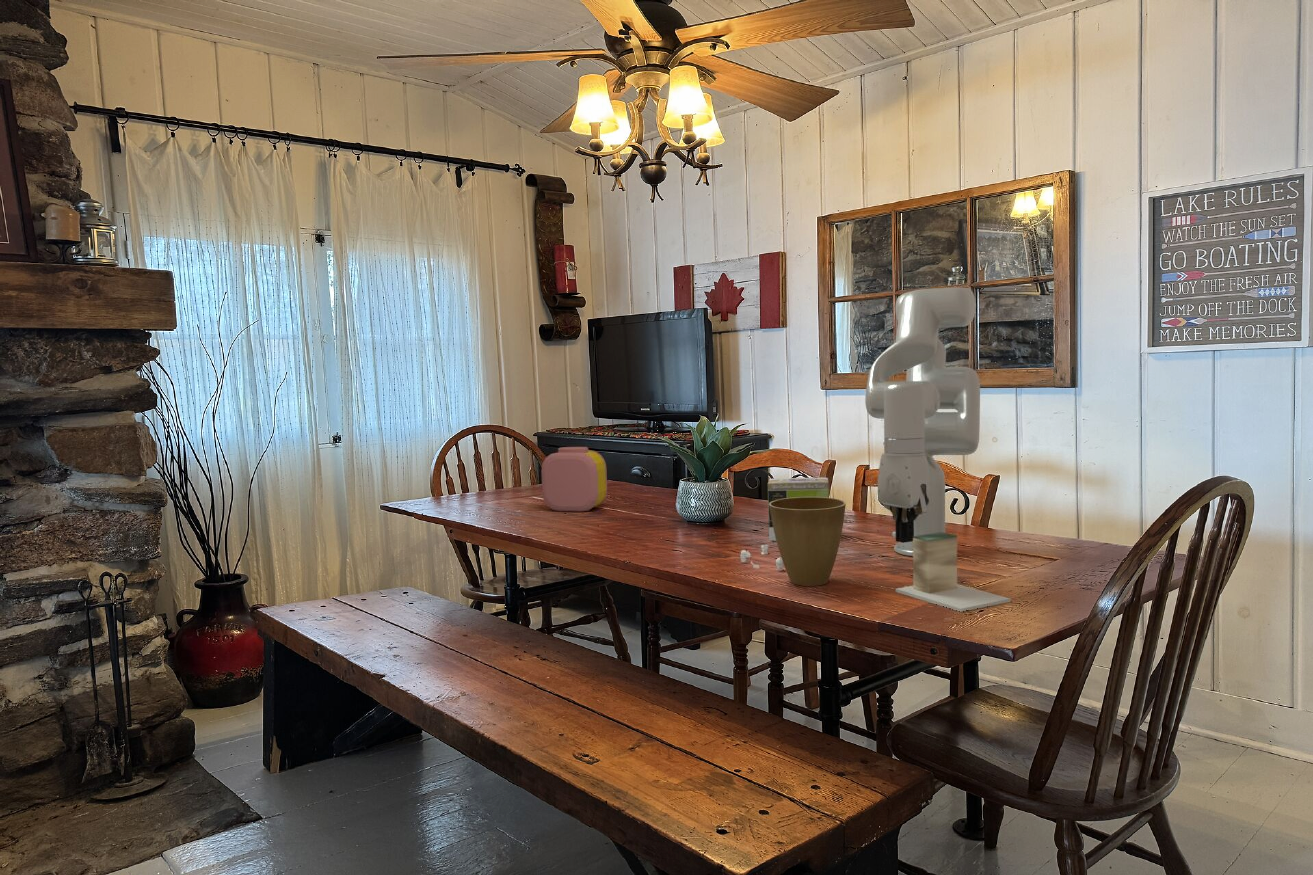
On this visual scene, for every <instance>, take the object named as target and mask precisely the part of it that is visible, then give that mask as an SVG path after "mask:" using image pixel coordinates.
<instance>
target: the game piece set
mask: <svg viewBox="0 0 1313 875" xmlns="http://www.w3.org/2000/svg"><path fill="white" fill-rule="evenodd" d="M760 548H761V553H760V554H761V555H769V553H768V549H769V545H768V544H761V545H760ZM739 558H740V562H741V563H742V564H745V563H746V561H747V559H750V558H751V553H750V552H749V550H747V551H746V550H745V549H743V550H741V551H740V556H739ZM775 563H776V564H775V565H776V567H777V571H779V572H780V571H781V572H782V571H783V568H784V567H785V566H784V563H783V561H782V558H781V556H780V557H778V558H776V559H775ZM750 564H751V565H753V567H752V568H753V569H757V570H759V569H760V568H761V567H760V566H759V565H757V564H754V563H753V561H752V560H751V561H750Z"/></svg>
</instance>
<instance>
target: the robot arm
mask: <svg viewBox="0 0 1313 875" xmlns="http://www.w3.org/2000/svg"><path fill="white" fill-rule="evenodd" d="M976 307H977V303H976V297H975V295H974V292H973V291H972V289H970V288H969V287H958V286H956V287H941V288H940V287H939V288H936V287H935V288H922V289H915V290H912V291H908V292H904V293H902V294H901V295H899V296H898V297H897V299H896V301H895V315H896V316H895V317H896V319H897V320H896V321H897V326H896V334H895V341H894V343H893V344H891V345H890V346H889V347H888V348H886V349H885V350H884V351H883V352H882V353H881V354H880V355H879V356H878V357H877V358H876V359H875V360H874V362H873V364H872V365H871V367H870V369H869V372H868V377H867V383H866V390H865V398H864V399H865V409H866V411H867V413H868V414H869V416H871V417H872V418H875V419H878V420H879V419H881V420H883V453H882V454H881V456H880V461H879V467H878V475H877V476H878V477H877V500H878V502H879V503H881V504H882V505H883V508H885V509H887V510H888V511H889V512H890V513H891V515H892V519H893V521H894V522H895V531H894V530H893V532H892V533H891V536H892V537H893V538H895V541H896V542H897V543H896V544H895V545H894V547H893V548H894V552H896V553H898V554H900V555H903V556H904V555H905V556H909V557H913V536H918V535H925V534H932V533H939V532H943V533H946V475H945V472H944V470H943V468H942V467H941V465H940V464H939V463H938V462H937V460H935V458H934V456H969V455H972V454H974V453H975V452H976V451H977V449H978V447H979V443H980V430H981V429H980V426H981V425H980V421H981V417H980V416H981V385H980V378H979V375H978V373H977V371H976V370H975V369H974V368H971V367H967V366H946V362H947V360H946V359H947V348H946V346H945V345H944V344H943V342H942V341H941V340H940V338H939V337H938V336H939V329H940V328H941V329H942V328H961V327H962V328H963V327H967V326H969V325H970V324H971V323H972V322H973V320H974V317H975V314H976ZM903 371H906V375H905V376H906V378H905V379H906V380H902V381H901V380H900V381H898V380H897V381H896V380H895V381H894V380H893V381H888V380H889V379H891V377H893V376H895V375H897V374H898V373H902V372H903ZM939 410H955V411H952V412H951V411H950V412H949V411H945V412H944V411H940V412H939ZM956 411H957V412H956Z"/></svg>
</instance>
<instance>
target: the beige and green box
mask: <svg viewBox="0 0 1313 875" xmlns="http://www.w3.org/2000/svg"><path fill="white" fill-rule="evenodd" d="M912 563H913V564H912V565H913V566H912V568H913V569H912V573H913V574H912V576H913V577H912V578H913V580H912V581H913V582H912V584H913V585H912V586H913V589H915V590H918V591H922V592H925V593H928V594H930V593H935V592H941V591H946V590H951V589H957V584H958V535H956V534H951V533H948V532H947V533H946V532H945V533H943V532H939V533H932V534H925V535H918V536H913V556H912Z"/></svg>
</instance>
